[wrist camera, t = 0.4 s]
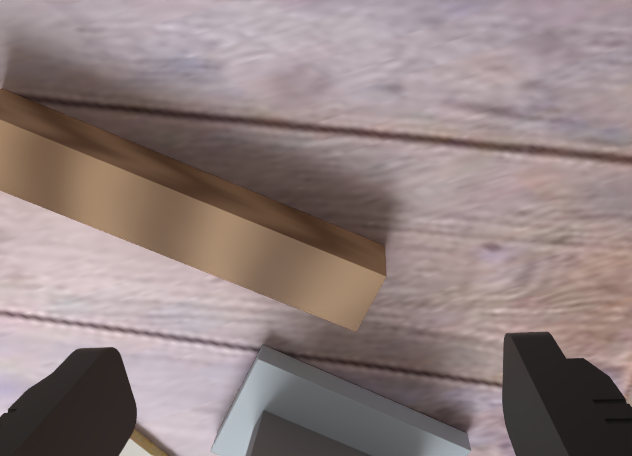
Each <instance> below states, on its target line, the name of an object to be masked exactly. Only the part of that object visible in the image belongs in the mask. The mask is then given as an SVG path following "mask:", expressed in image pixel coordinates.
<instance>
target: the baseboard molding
mask: <svg viewBox="0 0 632 456" xmlns="http://www.w3.org/2000/svg"><path fill="white" fill-rule="evenodd" d="M119 456H169V455H167V454H166V453H165V452H163V451H162V450H161V449H160V448H158V447H157V446H156V445H155V444H153V443H152V442H151V441H150V440H148V439H147V438H146V437H145V436H143V435H142V434H141V433H139V432H138V431H137V430H136V429H134V431H133V433H132V435H131V437H130V439H129V440H128V442H127V443H126V445H125V447H124V448H123V450H122V452H121V453H120V455H119Z"/></svg>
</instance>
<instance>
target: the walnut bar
mask: <svg viewBox="0 0 632 456" xmlns="http://www.w3.org/2000/svg"><path fill="white" fill-rule="evenodd" d="M0 191H3V192H5V193H8V194H10V195H13V196H15V197H18V198H20V199H23V200H26V201H28V202H31V203H33V204H36V205H38V206H41V207H43V208H46V209H48V210H51V211H53V212H56V213H58V214H61V215H63V216H66V217H68V218H71V219H73V220H76V221H78V222H81V223H83V224H86V225H88V226H91V227H93V228H96V229H98V230H101V231H104V232H106V233H109V234H111V235H114V236H116V237H119V238H121V239H124V240H126V241H129V242H131V243H134V244H136V245H139V246H141V247H144V248H146V249H149V250H151V251H154V252H156V253H159V254H161V255H164V256H166V257H169V258H171V259H174V260H176V261H179V262H181V263H184V264H187V265H189V266H192V267H194V268H197V269H199V270H202V271H204V272H207V273H209V274H212V275H214V276H217V277H219V278H222V279H224V280H227V281H229V282H232V283H234V284H237V285H239V286H242V287H244V288H247V289H249V290H252V291H254V292H257V293H259V294H262V295H265V296H267V297H270V298H272V299H275V300H277V301H280V302H282V303H285V304H287V305H290V306H292V307H295V308H297V309H300V310H302V311H305V312H307V313H310V314H312V315H315V316H317V317H320V318H322V319H325V320H327V321H330V322H332V323H335V324H337V325H340V326H342V327H345V328H348V329H350V330H353V331H355V332H356V331H357V330H358V328H359V326H360V324H361V322H362V320H363V319H364V317H365V315H366V313H367V311H368V309H369V308H370V306H371V304H372V302H373V300H374V298H375V297H376V295H377V293H378V291H379V289H380V287H381V286H382V284H383V282H384V280H385V278H386V257H385V246H384V245H382V244H379V243H377V242H374V241H372V240H369V239H367V238H365V237H362V236H360V235H357V234H355V233H352V232H350V231H347V230H345V229H343V228H340V227H338V226H335V225H333V224H330V223H328V222H326V221H323V220H321V219H318V218H316V217H313V216H311V215H309V214H306V213H304V212H301V211H299V210H296V209H294V208H291V207H289V206H287V205H284V204H282V203H279V202H277V201H274V200H272V199H270V198H267V197H265V196H262V195H260V194H257V193H255V192H253V191H250V190H248V189H245V188H243V187H240V186H238V185H235V184H233V183H231V182H228V181H226V180H223V179H221V178H218V177H216V176H214V175H211V174H209V173H206V172H204V171H201V170H199V169H197V168H194V167H192V166H189V165H187V164H184V163H182V162H179V161H177V160H175V159H172V158H170V157H167V156H165V155H162V154H160V153H158V152H155V151H153V150H150V149H148V148H145V147H143V146H141V145H138V144H136V143H133V142H131V141H128V140H126V139H123V138H121V137H119V136H116V135H114V134H111V133H109V132H106V131H104V130H102V129H99V128H97V127H94V126H92V125H89V124H87V123H85V122H82V121H80V120H77V119H75V118H72V117H70V116H67V115H65V114H63V113H60V112H58V111H55V110H53V109H50V108H48V107H46V106H43V105H41V104H38V103H36V102H33V101H31V100H29V99H26V98H24V97H21V96H19V95H16V94H14V93H11V92H9V91H7V90H4V89H0Z"/></svg>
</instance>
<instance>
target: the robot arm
mask: <svg viewBox="0 0 632 456" xmlns="http://www.w3.org/2000/svg"><path fill="white" fill-rule="evenodd" d="M502 403H503V413H504V419H505V424H506V428H507V432H508V435H509V438H510V440H511V443H512V446H513V449H514V452H515V454H516V456H632V407H631V406H630V404H627V403H626V399H625V397H624V396H623V395H622V393H621V392H620V391H619V389H618V388H617V386H616V385H615V384H614V382H613V381H612V380H611V378H610V377H609V376H608V375H606V374H605V373H604V372H602V371H601V370H599V369H598V368H597V367H595V366H594V365H592V364H591V363H590V362H588V361H587V360H585V359H584V358H572V359H566V357H565V356H564V354H563V353H562V351H561V349H560V348H559V346H558V345H557V343H556V341H555V340H554V338H553V337H552V335H551V334H550V333H549V332H526V333H506V335H505V337H504V349H503V389H502ZM136 418H137V408H136V403H135V400H134V396H133V393H132V390H131V387H130V383H129V380H128V377H127V374H126V371H125V367H124V364H123V361H122V358H121V355H120V353H119V351H118V350H117V349H115V348H113V347H106V348H80V349H77V350H75V351H74V352H73V353H71V354H70V355H69V357H68V358H67V359H66V360H65V361H64V362H63V363H62V364H61V365H60V366H59V367H58V368H57V369H56V370H55V371H54V372H53V373H52V374H50V375H49V376H47V377H46V378H44V379H43V380H41V381H40V382H38V383H37V384H35V385H34V386H32V387H31V388H29V389H28V390H27V391H26V392H25V393H24V394H23V395H22V396H21V397H20V398H19V399H18V400H17V401H16V402H15V403H14V404H13V405H12V406H11V407H10V408H9V409H8V413H4V414H3V415H2V416H1V417H0V456H119V455H120V453H121V452H122V450H123V448H124V447H125V445H126V443H127V442H128V440H129V439H130V437H131V435H132V433H133V431H134V428H135V424H136Z"/></svg>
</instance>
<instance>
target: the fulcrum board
mask: <svg viewBox="0 0 632 456" xmlns="http://www.w3.org/2000/svg"><path fill="white" fill-rule="evenodd" d="M210 452H212V453H215V454H217V455H220V456H467V455H468V454H469V453H470V452H471V448H470V444H469V439H468V434H467V433H465V432H463V431H461V430H458V429H456V428H454V427H451V426H449V425H447V424H445V423H442V422H440V421H438V420H435V419H433V418H431V417H428V416H426V415H424V414H421V413H419V412H417V411H415V410H412V409H410V408H408V407H405V406H403V405H401V404H398V403H396V402H394V401H392V400H389V399H387V398H385V397H382V396H380V395H378V394H375V393H373V392H371V391H368V390H366V389H364V388H362V387H359V386H357V385H355V384H352V383H350V382H348V381H345V380H343V379H341V378H339V377H336V376H334V375H332V374H329V373H327V372H325V371H322V370H320V369H318V368H315V367H313V366H311V365H309V364H306V363H304V362H302V361H299V360H297V359H295V358H292V357H290V356H288V355H286V354H283V353H281V352H279V351H276V350H274V349H272V348H269V347H267V346H265V345H262V347H261V349H260V351H259V353H258V355H257V357H256V359H255V361H254V363H253V364H252V366H251V368H250V370H249V372H248V374H247V376H246V378H245V380H244V382H243V384H242V386H241V388H240V390H239V392H238V394H237V396H236V398H235V400H234V402H233V404H232V406H231V408H230V410H229V412H228V414H227V416H226V418H225V419H224V421H223V423H222V425H221V427H220V429H219V431H218V433H217V435H216V438H215V440H214V443H213V446H212V448H211V451H210Z"/></svg>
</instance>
